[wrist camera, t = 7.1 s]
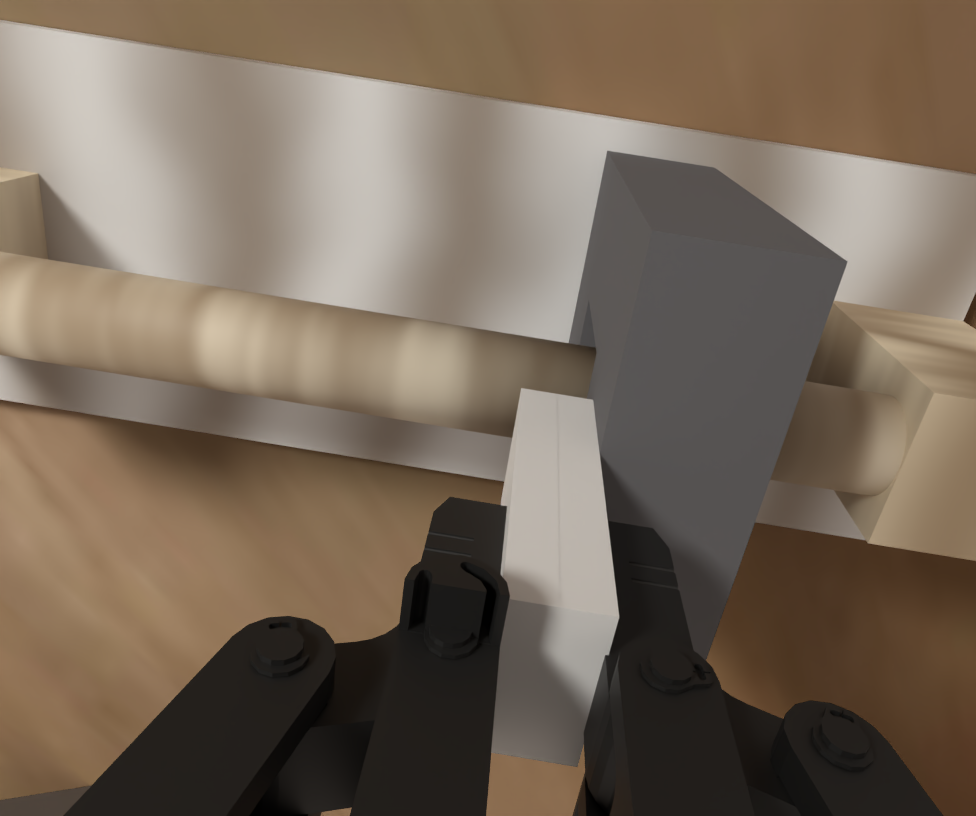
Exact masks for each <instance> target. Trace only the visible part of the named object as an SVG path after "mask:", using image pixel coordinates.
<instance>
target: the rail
mask: <svg viewBox="0 0 976 816" xmlns="http://www.w3.org/2000/svg"><path fill="white" fill-rule="evenodd" d="M607 151H613V152H620V153H626V154H632V155H639V156H645V157H651V158H658V159H664V160H670V161H677V162H683V163H689V164H695V165H702V166H708V167H714V168H716V169H717V170H719V171H720V172H722V173H723V174H724V175H726V176H727V177H729V178H730V179H732V180H733V181H734V182H736V183H737V184H739V185H740V186H741V187H743V188H744V189H746V190H747V191H749V192H750V193H751V194H753V195H754V196H756V197H757V198H758V199H760V200H761V201H763V202H764V203H765V204H767V205H768V206H770V207H771V208H773V209H774V210H775V211H777V212H778V213H780V214H781V215H782V216H784V217H785V218H787V219H788V220H790V221H791V222H792V223H794V224H795V225H797V226H798V227H799V228H801V229H802V230H804V231H805V232H807V233H808V234H809V235H811V236H812V237H814V238H815V239H816V240H818V241H819V242H821V243H822V244H824V245H825V246H826V247H828V248H829V249H831V250H832V251H833V252H835V253H836V254H838V255H839V256H841V257H842V258H843V259H845V260H846V261H848V262H847V265H846V268H845V271H844V273H843V276H842V279H841V282H840V285H839V288H838V290H837V293H836V296H835V299H834V302H833V304H832V307H831V310H830V313H829V316H828V318H827V321H826V324H825V327H824V330H823V333H822V335H821V338H820V341H819V344H818V347H817V349H816V352H815V355H814V358H813V361H812V363H811V366H810V369H809V372H808V375H807V378H806V380H805V383H804V386H803V389H802V392H801V394H800V397H799V400H798V403H797V406H796V408H795V411H794V414H793V417H792V420H791V422H790V425H789V428H788V431H787V434H786V437H785V439H784V442H783V445H782V448H781V451H780V453H779V456H778V459H777V462H776V465H775V467H774V470H773V473H772V476H771V479H770V482H769V484H768V487H767V490H766V493H765V496H764V498H763V501H762V504H761V507H760V510H759V512H758V515H757V518H756V521H755V522H756V523H762V524H768V525H774V526H781V527H787V528H793V529H799V530H805V531H811V532H817V533H824V534H830V535H836V536H842V537H848V538H854V539H860V540H866V541H867V543H869V544H875V545H881V546H887V547H894V548H900V549H906V550H912V551H918V552H924V553H930V554H937V555H943V556H949V557H955V558H961V559H967V560H973V561H976V329H974V328H973V327H971V326H970V325H968V324H967V323H965V322H964V321H963V320H964V318H965V316H966V314H967V311H968V309H969V307H970V304H971V302H972V300H973V298H974V295H975V293H976V174H972V173H965V172H959V171H953V170H946V169H940V168H934V167H927V166H921V165H915V164H908V163H902V162H896V161H889V160H883V159H877V158H870V157H864V156H858V155H851V154H845V153H839V152H832V151H826V150H820V149H813V148H807V147H801V146H794V145H788V144H782V143H776V142H769V141H763V140H757V139H750V138H744V137H738V136H731V135H725V134H719V133H712V132H706V131H700V130H693V129H687V128H681V127H674V126H668V125H662V124H655V123H649V122H643V121H636V120H630V119H624V118H617V117H611V116H605V115H598V114H592V113H586V112H579V111H573V110H567V109H560V108H554V107H548V106H541V105H535V104H529V103H523V102H516V101H510V100H504V99H497V98H491V97H485V96H478V95H472V94H466V93H459V92H453V91H447V90H440V89H434V88H428V87H421V86H415V85H409V84H402V83H396V82H390V81H383V80H377V79H371V78H364V77H358V76H352V75H345V74H339V73H333V72H326V71H320V70H314V69H307V68H301V67H295V66H288V65H282V64H276V63H269V62H263V61H257V60H251V59H244V58H238V57H232V56H225V55H219V54H213V53H206V52H200V51H194V50H187V49H181V48H175V47H168V46H162V45H156V44H149V43H143V42H137V41H130V40H124V39H118V38H111V37H105V36H99V35H92V34H86V33H80V32H73V31H67V30H61V29H54V28H48V27H42V26H35V25H29V24H23V23H16V22H10V21H4V20H0V400H7V401H13V402H19V403H25V404H31V405H37V406H43V407H50V408H56V409H62V410H68V411H74V412H80V413H86V414H93V415H99V416H105V417H111V418H117V419H123V420H129V421H136V422H142V423H148V424H154V425H160V426H166V427H172V428H179V429H185V430H191V431H197V432H203V433H209V434H215V435H222V436H228V437H234V438H240V439H246V440H252V441H258V442H265V443H271V444H277V445H283V446H289V447H295V448H301V449H308V450H314V451H320V452H326V453H332V454H338V455H344V456H351V457H357V458H363V459H369V460H375V461H381V462H387V463H394V464H400V465H406V466H412V467H418V468H424V469H430V470H437V471H443V472H449V473H455V474H461V475H467V476H473V477H480V478H486V479H492V480H498V481H504V482H505V476H506V471H507V465H508V459H509V454H510V448H511V443H512V437H513V431H514V426H515V420H516V414H517V409H518V403H519V398H520V392H521V388H524V389H530V390H536V391H543V392H549V393H555V394H561V395H567V396H573V397H579V398H585V399H587V394H588V390H589V385H590V381H591V376H592V372H593V367H594V363H595V358H596V354H597V352H596V348H595V347H589V346H583V345H577V344H571V343H569V338H570V333H571V328H572V323H573V318H574V313H575V308H576V304H577V299H578V294H579V289H580V284H581V279H582V274H583V269H584V264H585V259H586V254H587V249H588V244H589V239H590V234H591V229H592V224H593V219H594V214H595V209H596V204H597V199H598V194H599V189H600V184H601V179H602V174H603V169H604V164H605V159H606V154H607Z"/></svg>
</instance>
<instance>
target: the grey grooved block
mask: <svg viewBox="0 0 976 816" xmlns="http://www.w3.org/2000/svg"><path fill="white" fill-rule="evenodd" d="M90 787H91V786H87V787H80V788H74V789H68V790H62V791H55V792H49V793H43V794H36V795H30V796H24V797H18V798H11V799H5V800H0V816H63V815H64V814H65V813H66V812H67V811H68V810H69V809H70V808H71V807H72V806H73V805H74V804H75V803H76V802H77V801H78V800H79V799H80V797H81V796H82V795H83V794H84V793H85V792H86V791H87V790H88V789H89V788H90Z"/></svg>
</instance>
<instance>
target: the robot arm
mask: <svg viewBox="0 0 976 816" xmlns="http://www.w3.org/2000/svg"><path fill="white" fill-rule="evenodd" d="M583 744H584V752H585V775H584V778H583V781H582V785H581V788H580V792H579V795H578V799H577V802H576V806H575V809H574V813H573V816H943V815H942V813H941V812H940V811H939V809H938V808H937V807H936V805H935V804H934V803H933V801H932V800H931V799H930V797H929V796H928V795H927V793H926V792H925V791H924V789H923V788H922V787H921V785H920V784H919V782H918V781H917V780H916V778H915V777H914V776H913V774H912V773H911V772H910V770H909V769H908V768H907V766H906V765H905V764H904V762H903V761H902V760H901V758H900V757H899V756H898V754H897V753H896V752H895V750H894V749H893V748H892V746H891V745H890V744H889V742H888V741H887V740H886V739H885V738H884V737H883V736H882V735H881V734H880V733H879V732H878V731H877V730H876V729H875V728H874V727H873V726H872V725H871V724H869V723H868V722H867V721H865V720H864V719H862V718H861V717H859V716H858V715H856V714H855V713H853V712H851V711H849V710H846V709H844V708H841V707H839V706H836V705H834V704H831V703H825V702H818V701H807V702H803V703H798V704H795V705H794V706H793V707H792V708H791V709H790V710H789V711H788V712H787V713H786V714H785V717H784V719H782V718H779V717H777V716H774V715H772V714H770V713H767V712H765V711H762V710H760V709H758V708H755V707H753V706H750V705H748V704H746V703H744V702H742V701H740V700H738V699H736V698H734V697H732V696H731V695H729V694H728V693H726V692H725V691H724V690H722V689H721V685H720V682H719V680H718V678H717V676H716V674H715V672H714V670H713V668H712V667H711V666H710V665H709V664H708V663H707V662H706V661H705V660H704V659H703V658H702V657H701V656H700V655H699V654H698V653H697V652H695V651H694V650H693V645H692V641H691V637H690V633H689V629H688V624H687V620H686V616H685V612H684V608H683V603H682V599H681V595H680V591H679V590H678V582H677V578H676V574H675V573H674V566H673V561H672V557H671V553H670V549H669V547H668V546H667V545H666V543H665V542H664V541H663V540H662V539H661V537H660V536H659V535H658V534H657V532H656V531H655V530H654V529H653V528H649V527H643V526H637V525H631V524H625V523H618V522H612V521H608V519H607V511H606V502H605V494H604V486H603V477H602V469H601V461H600V453H599V445H598V436H597V428H596V420H595V411H594V403H593V400H592V399H585V398H579V397H573V396H567V395H561V394H555V393H549V392H543V391H536V390H530V389H524V388H521V392H520V398H519V403H518V409H517V414H516V420H515V426H514V431H513V437H512V443H511V448H510V454H509V459H508V465H507V471H506V476H505V482H504V487H503V493H502V499H501V505H496V504H490V503H484V502H478V501H472V500H466V499H460V498H454V497H449V498H448V499H447V500H446V501H445V502H444V503H443V504H442V505H441V506H439V507H438V508H437V509H436V510H435V511H434V513H433V517H432V521H431V524H430V528H429V533H428V536H427V540H426V544H425V548H424V552H423V555H422V559H421V562H419V563H418V564H416V565H414V566H413V567H412V568H411V570H410V571H409V573H408V574H407V576H406V578H405V581H404V589H403V598H402V606H401V615H400V623H399V624H398V626H397V627H395V628H394V629H392V630H391V631H389V632H387V633H386V634H384V635H381V636H378V637H376V638H373V639H369V640H364V641H358V642H348V643H337V644H334V641H333V640H332V638H331V637H330V636H329V634H328V633H327V632H326V630H325V629H324V628H322V627H320V626H319V625H317V624H315V623H313V622H311V621H310V620H307V619H301V618H296V617H291V616H283V617H270V618H266V619H263V620H260V621H257V622H254V623H251V624H249V625H247V626H246V627H244V628H243V629H242V630H240V631H239V632H238V633H236V634H235V635H234V636H232V637H231V639H230V640H229V641H228V642H227V643H226V644H225V645H224V646H223V647H222V648H221V649H220V650H219V651H218V652H217V653H216V654H215V655H214V657H213V658H212V659H211V660H210V661H209V662H208V663H207V664H206V665H205V666H204V667H203V668H202V669H201V670H200V671H199V672H198V673H197V675H196V676H195V677H194V678H193V679H192V680H191V681H190V682H189V683H188V684H187V685H186V686H185V687H184V688H183V689H182V690H181V692H180V693H179V694H178V695H177V696H176V697H175V698H174V699H173V700H172V701H171V702H170V703H169V704H168V705H167V706H166V707H165V708H164V710H163V711H162V712H161V713H160V714H159V715H158V716H157V717H156V718H155V719H154V720H153V721H152V722H151V723H150V724H149V725H148V726H147V728H146V729H145V730H144V731H143V732H142V733H141V734H140V735H139V736H138V737H137V738H136V739H135V740H134V741H133V742H132V743H131V744H130V746H129V747H128V748H127V749H126V750H125V751H124V752H123V753H122V754H121V755H120V756H119V757H118V758H117V759H116V760H115V761H114V762H113V764H112V765H111V766H110V767H109V768H108V769H107V770H106V771H105V772H104V773H103V774H102V775H101V776H100V777H99V778H98V779H97V780H96V782H95V783H94V784H93V785H92V786H91V787H90V788H89V789H88V790H87V791H86V792H85V793H84V794H83V795H82V796H81V797H80V799H79V800H78V801H77V802H76V803H75V804H74V805H73V806H72V807H71V808H70V809H69V810H68V811H67V812H66V813H65V814H64V815H63V816H320V815H321V812H324V811H331V810H337V809H344V808H350V807H352V809H351V813H350V816H486V808H487V796H488V784H489V772H490V760H491V753H497V754H503V755H509V756H515V757H521V758H527V759H533V760H539V761H545V762H551V763H557V764H563V765H569V766H575V767H577V766H578V762H579V759H580V755H581V752H582V748H583Z"/></svg>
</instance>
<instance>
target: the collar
mask: <svg viewBox="0 0 976 816" xmlns="http://www.w3.org/2000/svg"><path fill="white" fill-rule="evenodd" d="M847 262H848V261H846V260H845V259H843V258H842V257H841V256H839V255H838V254H836V253H835V252H833V251H832V250H831V249H829V248H828V247H826V246H825V245H824V244H822V243H821V242H819V241H818V240H816V239H815V238H814V237H812V236H811V235H809V234H808V233H807V232H805V231H804V230H802V229H801V228H799V227H798V226H797V225H795V224H794V223H792V222H791V221H790V220H788V219H787V218H785V217H784V216H782V215H781V214H780V213H778V212H777V211H775V210H774V209H773V208H771V207H770V206H768V205H767V204H765V203H764V202H763V201H761V200H760V199H758V198H757V197H756V196H754V195H753V194H751V193H750V192H749V191H747V190H746V189H744V188H743V187H741V186H740V185H739V184H737V183H736V182H734V181H733V180H732V179H730V178H729V177H727V176H726V175H724V174H723V173H722V172H720V171H719V170H717V169H716V168H714V167H708V166H702V165H695V164H689V163H683V162H677V161H670V160H664V159H658V158H651V157H645V156H639V155H632V154H626V153H620V152H613V151H607V154H606V159H605V164H604V169H603V174H602V179H601V184H600V189H599V194H598V199H597V204H596V209H595V214H594V219H593V224H592V229H591V234H590V239H589V244H588V249H587V254H586V259H585V264H584V269H583V274H582V279H581V284H580V289H579V294H578V299H577V304H576V308H575V313H574V318H573V323H572V328H571V333H570V338H569V343H571V344H577V345H583V346H589V347H595V348H596V352H597V354H596V358H595V363H594V367H593V372H592V376H591V381H590V385H589V390H588V394H587V399H592V400H593V403H594V411H595V420H596V428H597V436H598V445H599V453H600V461H601V469H602V477H603V486H604V494H605V502H606V511H607V519H608V521H612V522H618V523H625V524H631V525H637V526H643V527H649V528H653V529H654V530H655V531H656V532H657V534H658V535H659V536H660V537H661V539H662V540H663V541H664V542H665V543H666V545H667V546H668V547H669V549H670V553H671V557H672V561H673V566H674V573H675V574H676V578H677V582H678V590H679V591H680V595H681V599H682V603H683V608H684V612H685V616H686V620H687V624H688V629H689V633H690V637H691V641H692V645H693V650H694V651H695V652H697V653H698V654H699V655H700V656H701V657H702V658H703V659H704V660H705V661H706V659H707V656H708V653H709V650H710V647H711V645H712V642H713V639H714V636H715V633H716V631H717V628H718V625H719V622H720V619H721V617H722V614H723V611H724V608H725V605H726V602H727V600H728V597H729V594H730V591H731V588H732V586H733V583H734V580H735V577H736V574H737V572H738V569H739V566H740V563H741V560H742V557H743V555H744V552H745V549H746V546H747V543H748V541H749V538H750V535H751V532H752V529H753V527H754V524H755V521H756V518H757V515H758V512H759V510H760V507H761V504H762V501H763V498H764V496H765V493H766V490H767V487H768V484H769V482H770V479H771V476H772V473H773V470H774V467H775V465H776V462H777V459H778V456H779V453H780V451H781V448H782V445H783V442H784V439H785V437H786V434H787V431H788V428H789V425H790V422H791V420H792V417H793V414H794V411H795V408H796V406H797V403H798V400H799V397H800V394H801V392H802V389H803V386H804V383H805V380H806V378H807V375H808V372H809V369H810V366H811V363H812V361H813V358H814V355H815V352H816V349H817V347H818V344H819V341H820V338H821V335H822V333H823V330H824V327H825V324H826V321H827V318H828V316H829V313H830V310H831V307H832V304H833V302H834V299H835V296H836V293H837V290H838V288H839V285H840V282H841V279H842V276H843V273H844V271H845V268H846V265H847Z"/></svg>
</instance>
